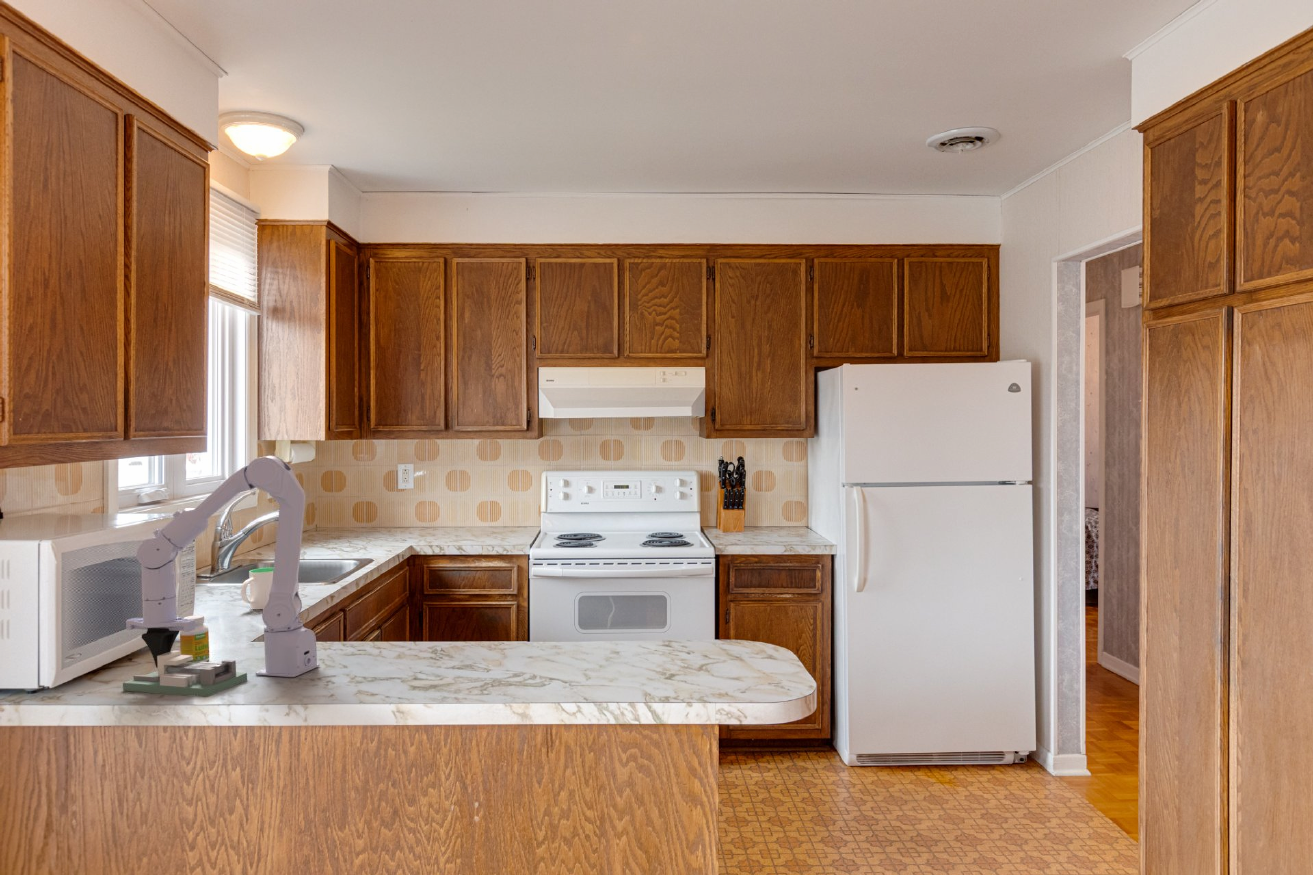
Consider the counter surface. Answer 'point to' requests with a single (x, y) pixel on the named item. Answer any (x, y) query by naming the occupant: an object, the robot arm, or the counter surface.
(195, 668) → the strap
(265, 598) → the mug
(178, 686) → the heatsink board
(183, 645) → the supplement bottle
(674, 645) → the counter surface
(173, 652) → the clip
